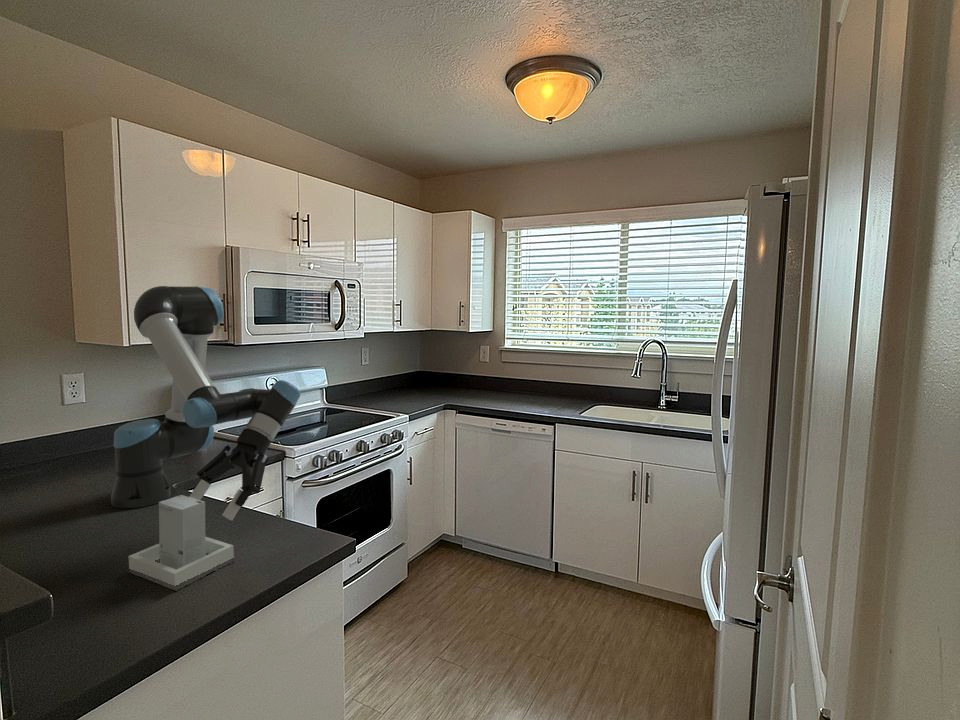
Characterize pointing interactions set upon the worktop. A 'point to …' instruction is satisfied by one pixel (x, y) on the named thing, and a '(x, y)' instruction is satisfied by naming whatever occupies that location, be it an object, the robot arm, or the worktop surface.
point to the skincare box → (181, 531)
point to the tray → (216, 556)
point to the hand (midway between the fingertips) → (207, 512)
